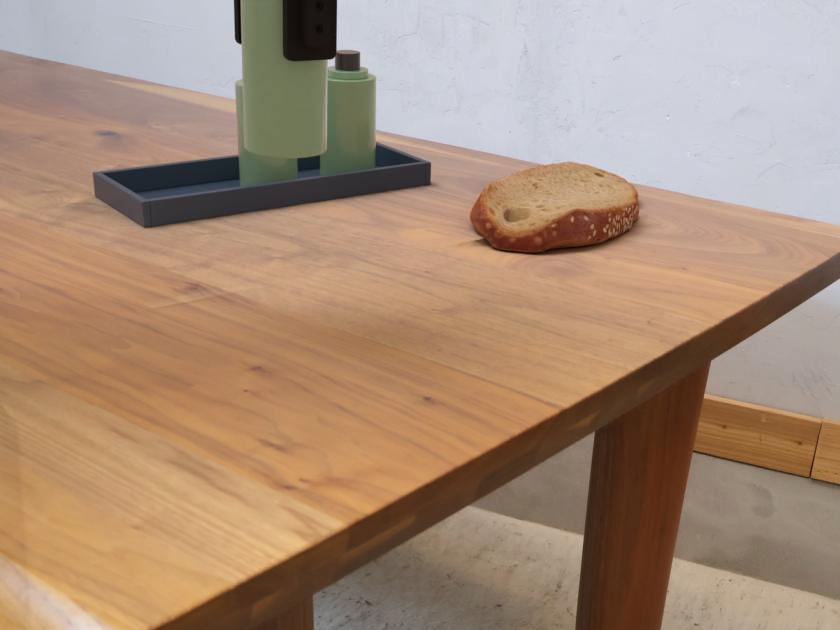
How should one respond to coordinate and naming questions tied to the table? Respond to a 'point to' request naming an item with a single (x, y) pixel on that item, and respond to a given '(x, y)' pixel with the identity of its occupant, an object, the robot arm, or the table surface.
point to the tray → (244, 187)
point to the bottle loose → (279, 89)
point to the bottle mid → (259, 156)
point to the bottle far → (350, 116)
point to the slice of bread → (555, 208)
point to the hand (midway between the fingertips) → (284, 48)
